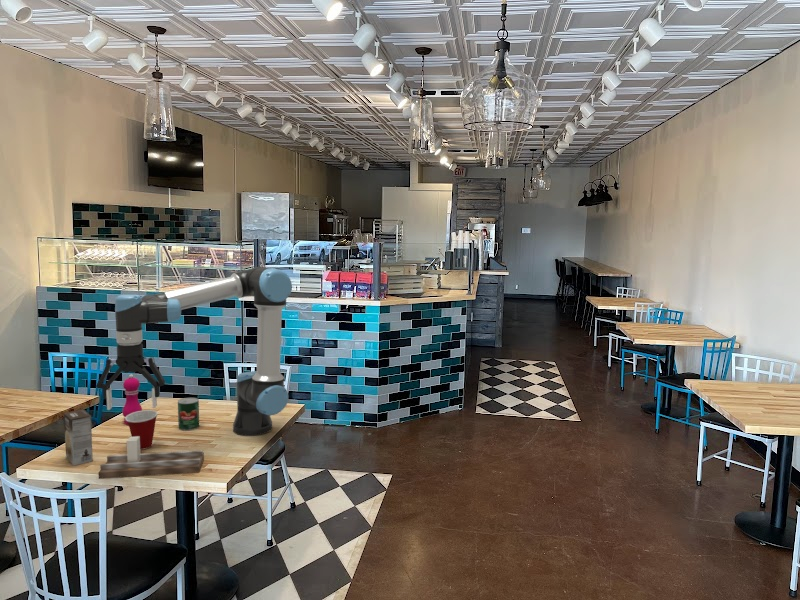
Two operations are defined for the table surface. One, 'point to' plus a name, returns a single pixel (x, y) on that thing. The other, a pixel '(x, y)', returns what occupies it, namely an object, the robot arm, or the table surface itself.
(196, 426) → the canned tomato
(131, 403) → the pepper mill
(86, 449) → the coffee box
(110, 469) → the fader track
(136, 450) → the fader tab
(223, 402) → the table surface
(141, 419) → the plastic cup
